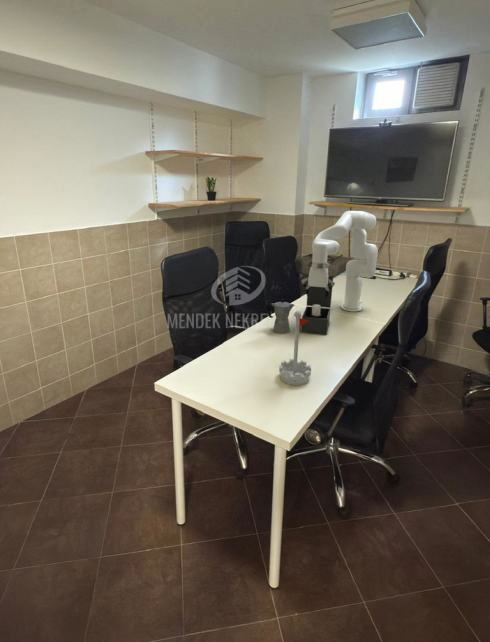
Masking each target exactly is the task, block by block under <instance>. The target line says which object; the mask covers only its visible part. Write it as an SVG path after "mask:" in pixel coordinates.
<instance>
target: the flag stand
mask: <svg viewBox="0 0 490 642" xmlns="http://www.w3.org/2000/svg"><path fill="white" fill-rule="evenodd" d="M293 316H294V318H295V325H294V326H295V327H294V343H293V344H294V348H293V358H290V359H289V361H286V360H282V361H281V362H280V365H279V370H278V372H279V374H280V375H281V380H282V381H283V382H285V383H286V384H289V385H291V386H301V385H304V384H306V383H307V382H308V381H309V377H311V375H312V366H311V364H307V361H305V360H300V361H298V357H299V355H298V354H299V340H300V339H299V337H300V336H299V335H300V328H301V327H302V325H304V324H305V323H306V322H308V321H307V320H305V319H302V316H303V314H302V311H300V310H296V311H294V313H293Z"/></svg>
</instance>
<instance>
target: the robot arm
mask: <svg viewBox="0 0 490 642" xmlns="http://www.w3.org/2000/svg"><path fill="white" fill-rule="evenodd" d="M376 226H377V217H376V215H374V214H373V213H370V212H367V211H362V210H361V211H360V210H347V211H344V212H343V213H342V215H341V216H340V217H339V218H338V220H337V221H336V223H335V224H334V225H331V226H330V227H328V228H326V229H324V230H322V231H320V232H319V233H318V234H317V235H316V237H315V238H314V240H313V241H312V244H311V250H312V259H311V266H310V267H309V273H308V277H306V278H303V279H301V284H302V285H303V287H304V288H305V295H306V297H307V296H309V287H310V286H314V287H325V289H326V294H325V298H327V296H328V294H329V290H330V289H332V290H333V287H334V286H335V285H336V282H334V280H333V281H331V280H329V279H328V275H329V267H330V265H331V264H330V263H328V256H329V255H330V256H331V255H332V256H333V255H336V254H337V253H338V252H339V250H340V243H339V242H338V241H336V240H338V239H342V238H345V237H346V236H347V235H348V233H349V232H351V242H350V249H349V250H350V252H349V255H350V256H351V257H352V258H354V259H349V260H348V261H347V262H346V264H345V274H346V280H345V292H344V302H343V303H342V304H341V309H342V310H344V311H347V312H355V313H356V312H361V311H362V310H363V307H362V306H361V304H362V303H363V300H362V299H361V296H362V287H363V281H362V278H368V279H372V278H373V277H374V276H375V274H376V271H377V264H378V263H377V262H378V257H379V256H378V255H379V248H378V246H377V245H376V244H374V243H368V242H367V237H368V236H367V235H368V233H367V231H371V230H373V229H375V227H376ZM361 277H362V278H361ZM306 282H307V283H306ZM328 282H329V283H331V286H330V287H328V286H327V285H328Z"/></svg>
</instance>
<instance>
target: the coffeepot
mask: <svg viewBox="0 0 490 642" xmlns="http://www.w3.org/2000/svg"><path fill="white" fill-rule="evenodd" d="M295 306H296V305H295V304H294V303H289V302H287V301H285V299H284V298H281V299H280V301H278V302H277V301H276V302H275V303H268V304H266V306H265V308H266V309H265V310H266V311H267V314H268V317H269V318H270V319H273V318H274V316H275V318H274V319H275V320H274V323H273V324H274V325H273V332H275V333H279V334H287V333H289V332H290V329H291V326H290V321H289V316H290V313H291V311H292V309H293V308H294V307H295ZM271 308H273V309H274V316H273V315H272V312H271Z"/></svg>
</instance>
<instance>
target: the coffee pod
mask: <svg viewBox="0 0 490 642" xmlns="http://www.w3.org/2000/svg"><path fill="white" fill-rule="evenodd" d="M311 307H312V315H314V316H319V315H320V309H321V308H322V307H321V306H320V305H316V304H315V305H312V306H311Z"/></svg>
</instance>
